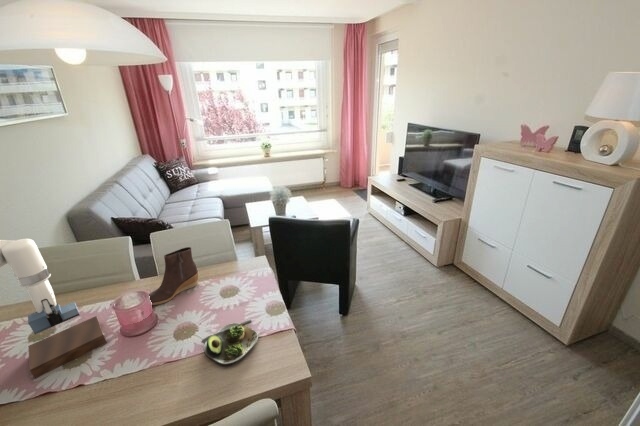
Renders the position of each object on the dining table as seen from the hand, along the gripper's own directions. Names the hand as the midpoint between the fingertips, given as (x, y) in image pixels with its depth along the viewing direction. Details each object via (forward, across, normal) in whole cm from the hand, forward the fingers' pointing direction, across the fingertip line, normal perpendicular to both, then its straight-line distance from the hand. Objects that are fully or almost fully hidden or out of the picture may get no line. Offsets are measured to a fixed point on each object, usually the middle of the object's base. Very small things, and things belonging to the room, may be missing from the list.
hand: (56, 319), depth 101 cm
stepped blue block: (+1, 0, 0) cm, 1 cm away
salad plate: (+14, +42, +41) cm, 60 cm away
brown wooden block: (+13, 0, 0) cm, 13 cm away
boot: (+14, -4, +38) cm, 40 cm away
